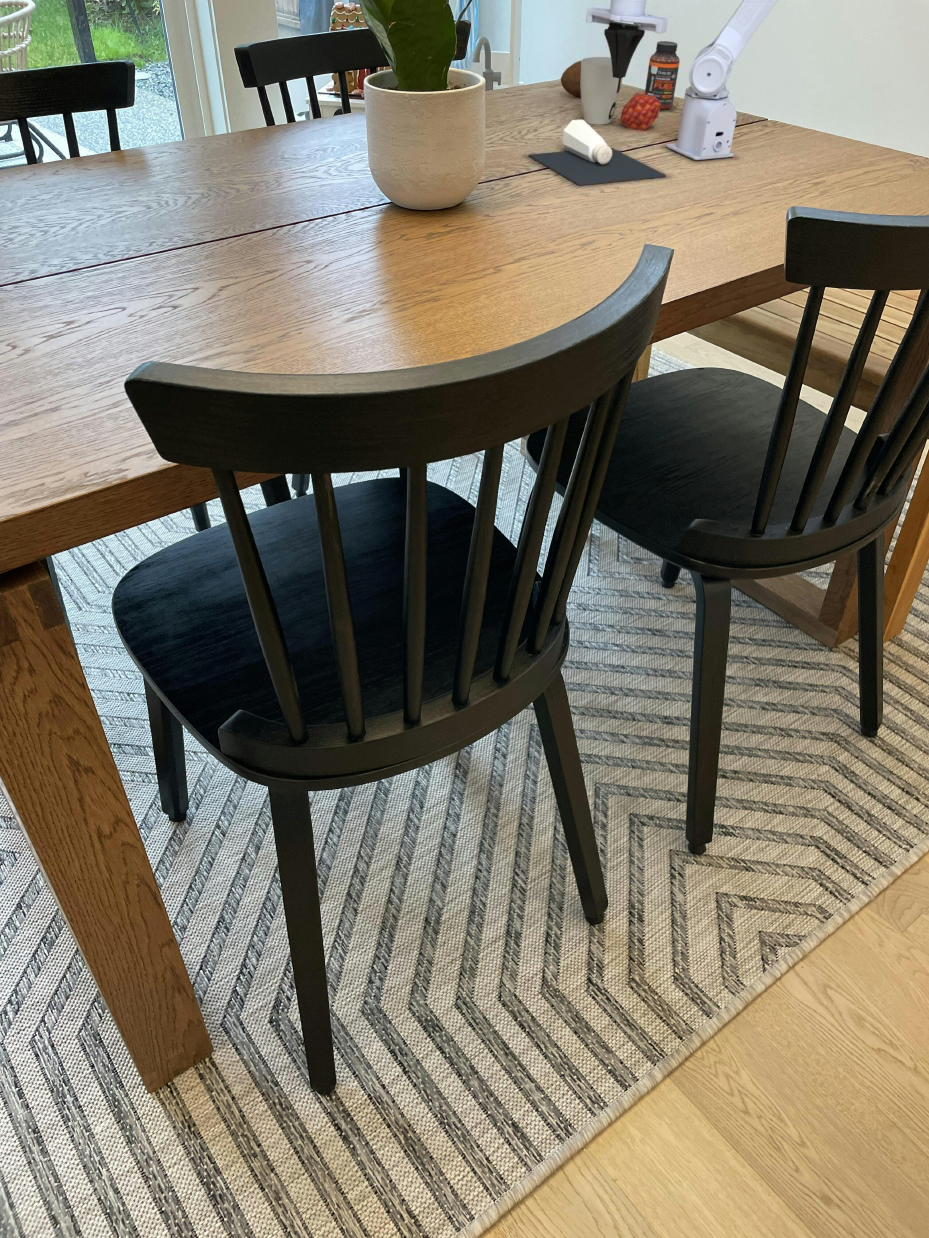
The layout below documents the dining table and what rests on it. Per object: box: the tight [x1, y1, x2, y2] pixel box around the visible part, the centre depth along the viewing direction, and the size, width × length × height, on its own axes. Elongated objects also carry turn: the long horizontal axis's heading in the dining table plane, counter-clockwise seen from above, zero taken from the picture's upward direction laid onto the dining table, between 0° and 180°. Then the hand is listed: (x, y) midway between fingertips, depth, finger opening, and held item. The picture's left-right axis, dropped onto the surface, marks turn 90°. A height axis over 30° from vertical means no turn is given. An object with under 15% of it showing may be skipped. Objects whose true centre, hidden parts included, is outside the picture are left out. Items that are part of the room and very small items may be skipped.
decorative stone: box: [619, 93, 662, 131], centre depth 172 cm, size 6×7×8 cm
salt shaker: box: [561, 119, 612, 164], centre depth 154 cm, size 5×5×11 cm
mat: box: [528, 146, 667, 187], centre depth 152 cm, size 18×16×1 cm
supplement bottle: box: [644, 40, 681, 111], centre depth 184 cm, size 6×6×11 cm
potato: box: [560, 60, 581, 98], centre depth 190 cm, size 7×12×7 cm, turn 117°
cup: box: [580, 56, 624, 125], centre depth 173 cm, size 8×8×10 cm
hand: (618, 77), depth 158 cm, fingers closed
